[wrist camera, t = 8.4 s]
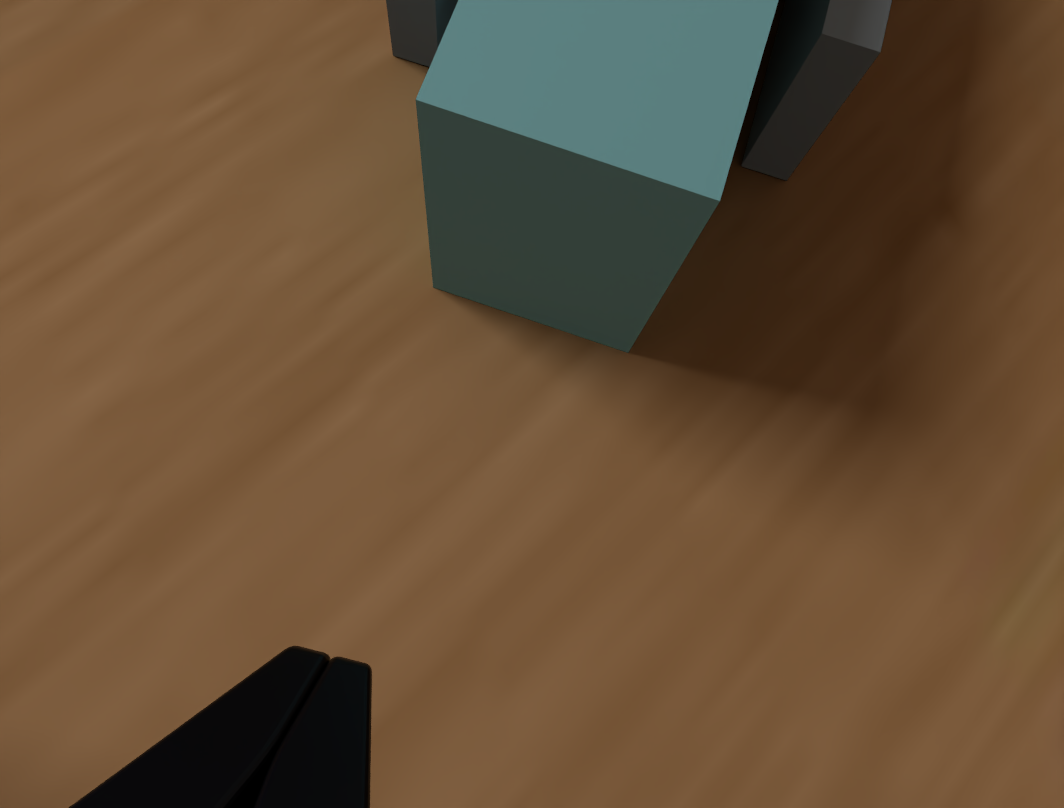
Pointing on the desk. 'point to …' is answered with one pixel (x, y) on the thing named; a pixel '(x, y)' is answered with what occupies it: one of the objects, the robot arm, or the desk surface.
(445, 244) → the teal block
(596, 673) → the desk surface
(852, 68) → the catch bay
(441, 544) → the desk surface
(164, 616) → the desk surface
